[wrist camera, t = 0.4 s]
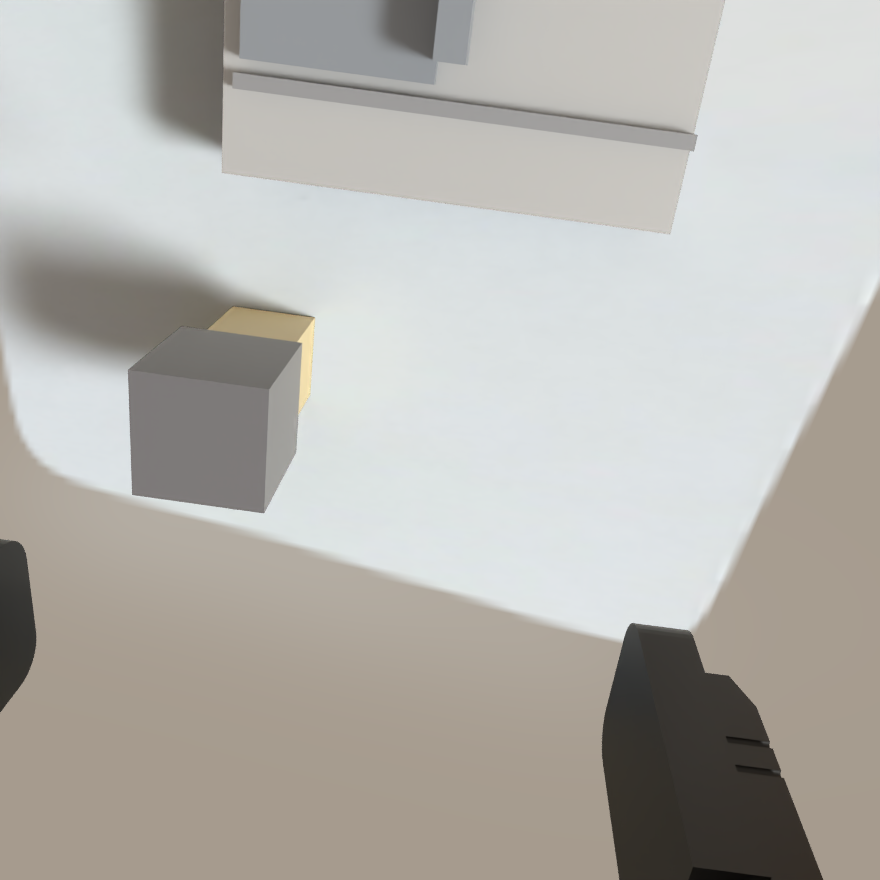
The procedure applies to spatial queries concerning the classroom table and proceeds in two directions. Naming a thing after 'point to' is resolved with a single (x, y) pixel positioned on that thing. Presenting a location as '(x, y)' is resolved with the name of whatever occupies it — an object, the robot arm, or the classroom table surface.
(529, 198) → the socket
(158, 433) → the plug
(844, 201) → the classroom table surface
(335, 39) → the shutter
